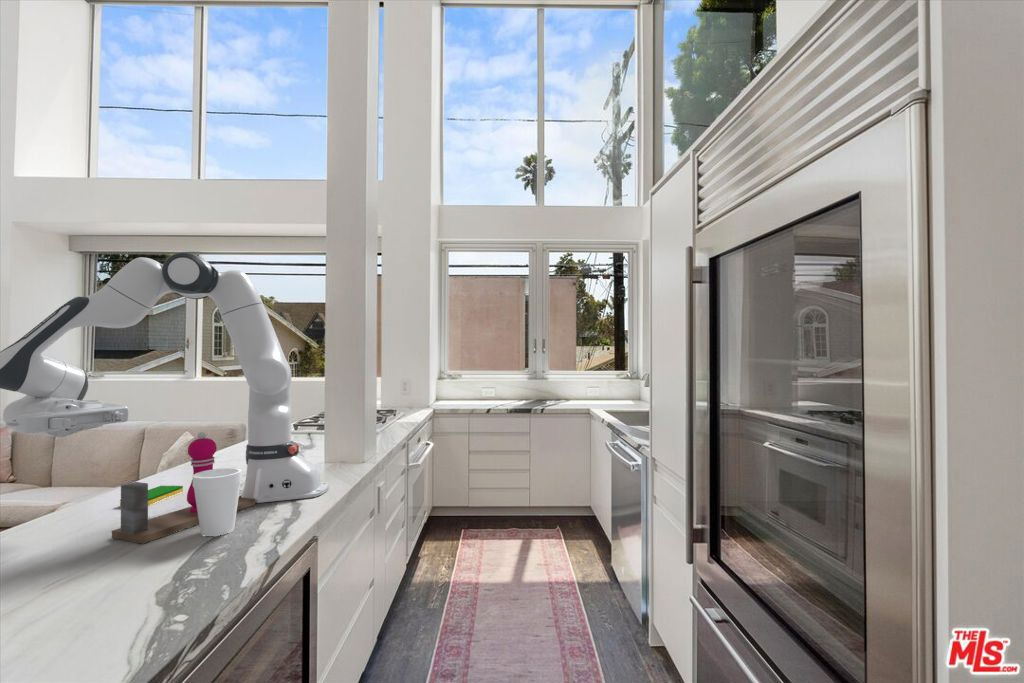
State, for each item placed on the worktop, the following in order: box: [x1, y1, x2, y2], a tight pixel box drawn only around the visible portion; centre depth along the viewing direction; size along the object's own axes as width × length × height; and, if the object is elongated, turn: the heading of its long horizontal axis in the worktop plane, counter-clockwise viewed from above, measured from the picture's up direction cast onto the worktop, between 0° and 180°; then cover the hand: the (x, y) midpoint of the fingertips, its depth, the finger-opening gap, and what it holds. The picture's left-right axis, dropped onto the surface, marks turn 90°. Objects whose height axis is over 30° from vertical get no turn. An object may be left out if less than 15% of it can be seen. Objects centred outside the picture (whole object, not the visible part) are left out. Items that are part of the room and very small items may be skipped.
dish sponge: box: [119, 485, 184, 508], centre depth 138 cm, size 7×14×2 cm, turn 175°
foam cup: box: [192, 467, 243, 537], centre depth 113 cm, size 10×9×13 cm
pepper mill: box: [186, 431, 217, 513], centre depth 124 cm, size 7×7×20 cm
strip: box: [111, 481, 256, 544], centre depth 120 cm, size 28×10×12 cm, turn 159°
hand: (97, 420), depth 113 cm, fingers open, 8 cm apart
